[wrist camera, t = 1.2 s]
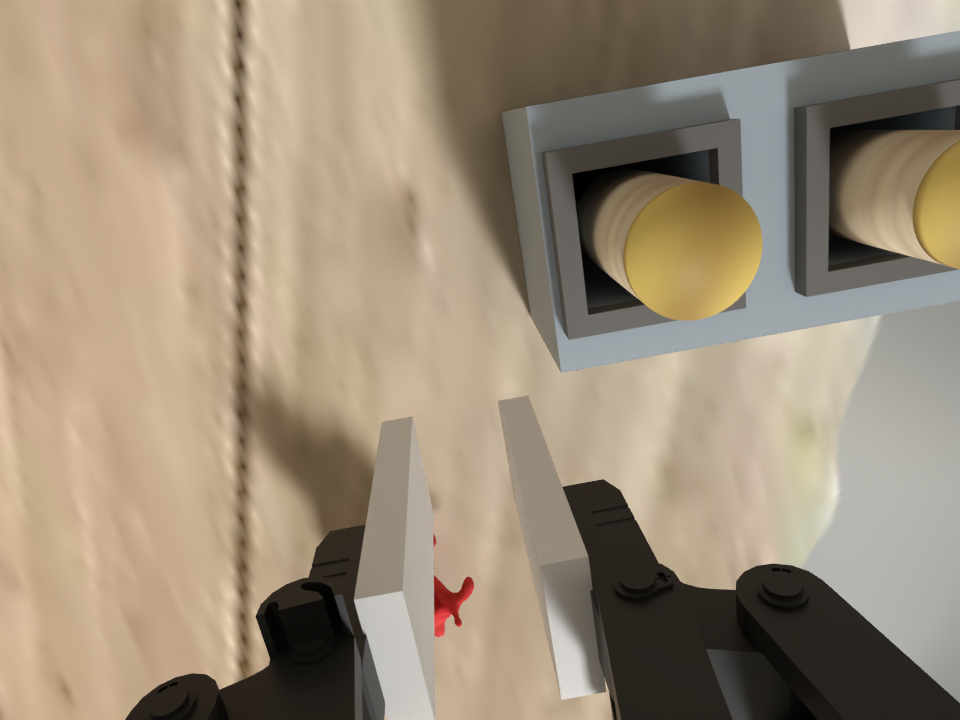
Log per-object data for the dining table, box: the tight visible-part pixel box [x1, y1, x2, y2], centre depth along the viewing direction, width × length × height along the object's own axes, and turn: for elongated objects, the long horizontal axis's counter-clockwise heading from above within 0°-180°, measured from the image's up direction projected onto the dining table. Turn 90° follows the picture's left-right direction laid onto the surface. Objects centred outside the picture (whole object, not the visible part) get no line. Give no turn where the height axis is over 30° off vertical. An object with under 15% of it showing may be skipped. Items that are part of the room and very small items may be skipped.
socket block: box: [501, 31, 960, 373], centre depth 34 cm, size 20×12×11 cm, turn 99°
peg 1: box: [576, 168, 763, 321], centre depth 29 cm, size 5×5×10 cm
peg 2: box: [829, 130, 960, 269], centre depth 29 cm, size 5×5×10 cm
